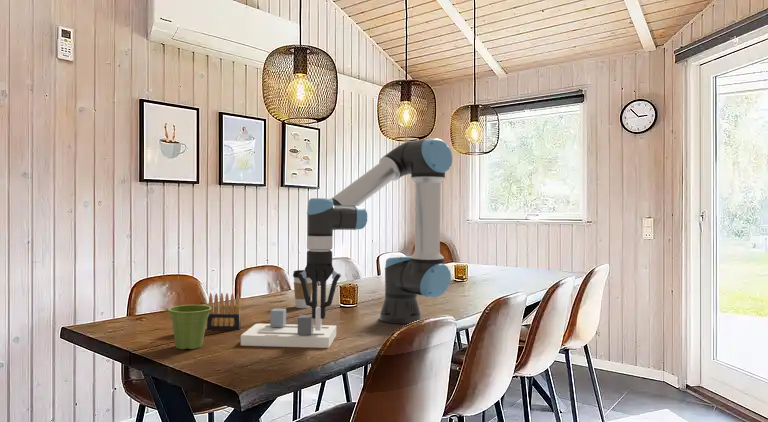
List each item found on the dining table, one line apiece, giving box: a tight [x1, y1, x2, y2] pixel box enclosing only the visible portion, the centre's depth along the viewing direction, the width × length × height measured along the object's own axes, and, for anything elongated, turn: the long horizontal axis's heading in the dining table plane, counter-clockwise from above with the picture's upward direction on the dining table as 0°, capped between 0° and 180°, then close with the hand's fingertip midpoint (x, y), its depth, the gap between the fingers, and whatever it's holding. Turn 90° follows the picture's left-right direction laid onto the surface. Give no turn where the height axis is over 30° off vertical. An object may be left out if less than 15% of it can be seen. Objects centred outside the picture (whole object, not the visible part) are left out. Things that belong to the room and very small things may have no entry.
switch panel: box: [240, 323, 337, 349], centre depth 167 cm, size 26×16×3 cm, turn 87°
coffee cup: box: [292, 269, 312, 309], centre depth 221 cm, size 8×8×15 cm
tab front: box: [297, 314, 315, 335], centre depth 162 cm, size 4×4×5 cm
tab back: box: [269, 308, 287, 327], centre depth 172 cm, size 4×4×5 cm
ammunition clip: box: [206, 292, 242, 331], centre depth 180 cm, size 11×2×12 cm, turn 93°
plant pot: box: [168, 304, 212, 350], centre depth 157 cm, size 12×12×11 cm
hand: (318, 329), depth 162 cm, fingers closed
